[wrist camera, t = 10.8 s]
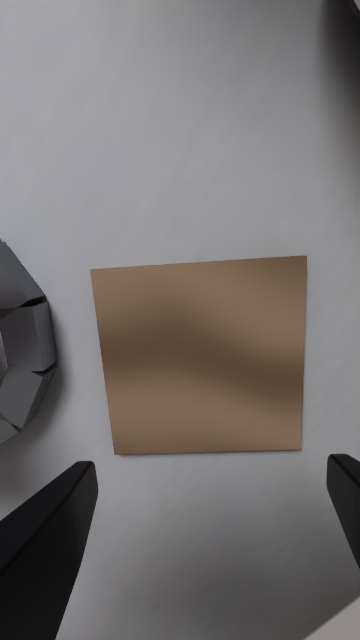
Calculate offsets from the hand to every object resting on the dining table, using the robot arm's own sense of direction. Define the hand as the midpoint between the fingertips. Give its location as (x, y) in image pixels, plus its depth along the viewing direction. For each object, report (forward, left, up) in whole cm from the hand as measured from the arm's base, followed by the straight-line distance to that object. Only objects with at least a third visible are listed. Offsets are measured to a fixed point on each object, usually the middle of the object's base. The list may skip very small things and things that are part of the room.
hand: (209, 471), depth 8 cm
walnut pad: (0, 0, -8) cm, 8 cm away
